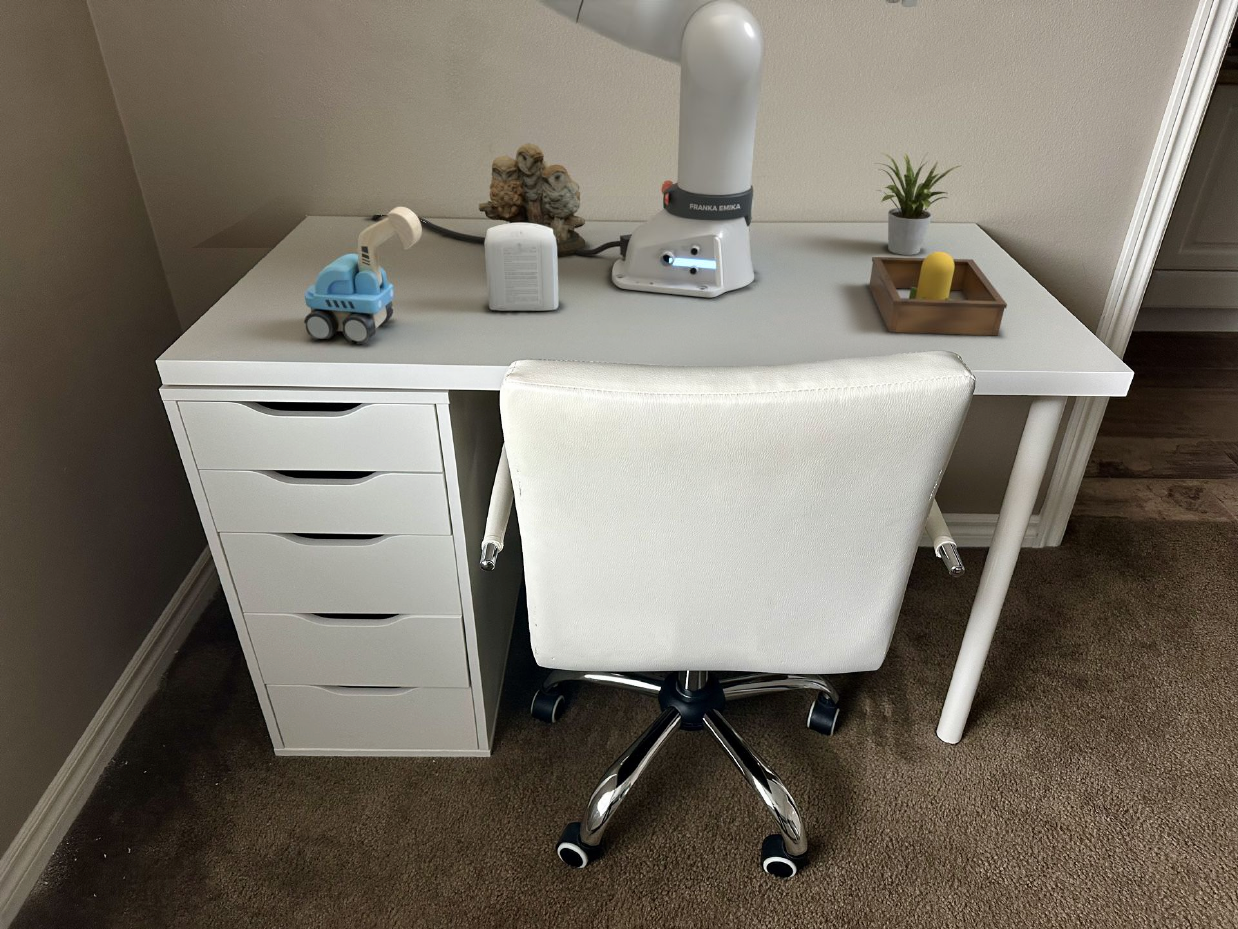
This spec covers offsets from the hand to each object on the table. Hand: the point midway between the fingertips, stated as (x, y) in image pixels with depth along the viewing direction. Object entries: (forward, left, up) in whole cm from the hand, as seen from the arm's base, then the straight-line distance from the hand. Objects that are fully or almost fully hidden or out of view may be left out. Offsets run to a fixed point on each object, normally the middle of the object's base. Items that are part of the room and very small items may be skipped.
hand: (900, 4), depth 117 cm
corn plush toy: (+9, -11, -39) cm, 41 cm away
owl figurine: (-53, +12, -39) cm, 67 cm away
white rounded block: (-50, -15, -39) cm, 65 cm away
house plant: (+9, +16, -39) cm, 43 cm away
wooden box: (+9, -11, -39) cm, 41 cm away
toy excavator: (-70, -25, -39) cm, 84 cm away
